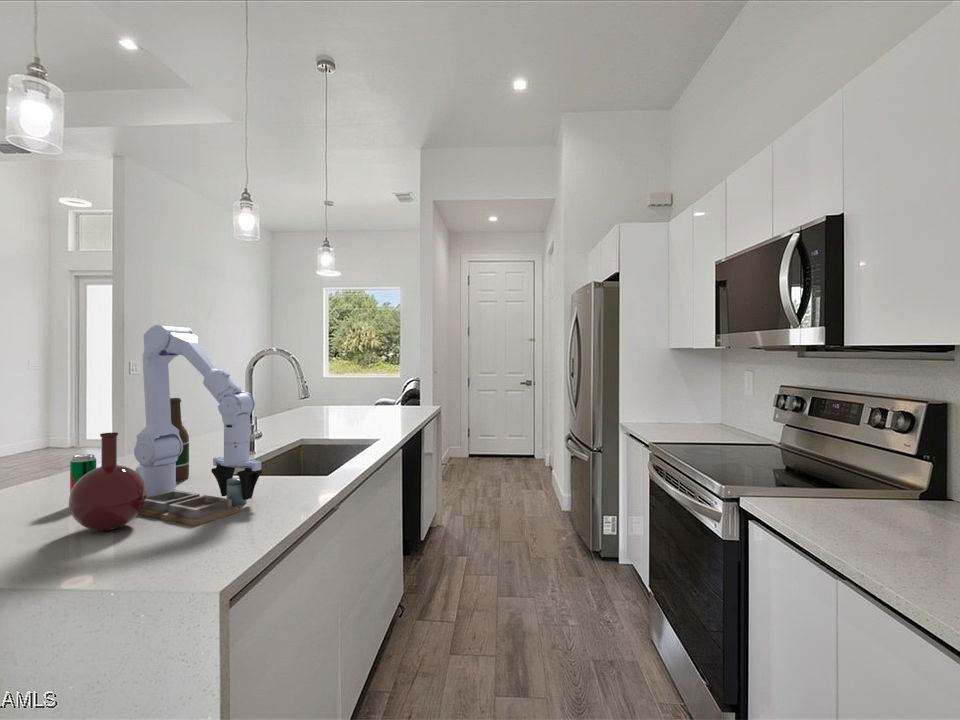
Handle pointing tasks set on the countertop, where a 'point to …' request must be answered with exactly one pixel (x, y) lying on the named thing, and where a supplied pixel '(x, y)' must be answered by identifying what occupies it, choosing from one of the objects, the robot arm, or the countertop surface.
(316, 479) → the countertop surface
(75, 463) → the soda can
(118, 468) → the round-bottom flask
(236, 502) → the grey plastic cylinder
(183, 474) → the beer bottle
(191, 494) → the caddy
